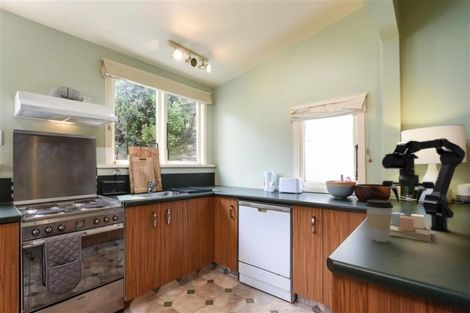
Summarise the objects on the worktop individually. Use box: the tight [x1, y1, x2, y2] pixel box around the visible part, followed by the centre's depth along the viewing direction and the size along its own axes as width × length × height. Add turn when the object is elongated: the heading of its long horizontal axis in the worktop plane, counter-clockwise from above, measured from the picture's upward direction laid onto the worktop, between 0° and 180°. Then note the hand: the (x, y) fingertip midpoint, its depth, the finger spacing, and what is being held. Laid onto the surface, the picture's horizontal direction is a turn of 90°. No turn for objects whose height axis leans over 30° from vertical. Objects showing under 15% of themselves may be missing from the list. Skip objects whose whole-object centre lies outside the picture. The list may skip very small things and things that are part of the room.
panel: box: [389, 221, 432, 243], centre depth 102 cm, size 16×15×2 cm
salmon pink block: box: [400, 215, 414, 231], centre depth 99 cm, size 4×4×5 cm
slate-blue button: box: [391, 211, 406, 226], centre depth 108 cm, size 4×4×5 cm
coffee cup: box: [364, 199, 394, 243], centre depth 93 cm, size 9×9×15 cm
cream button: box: [410, 213, 426, 229], centre depth 103 cm, size 4×4×5 cm
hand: (407, 203), depth 107 cm, fingers open, 6 cm apart
